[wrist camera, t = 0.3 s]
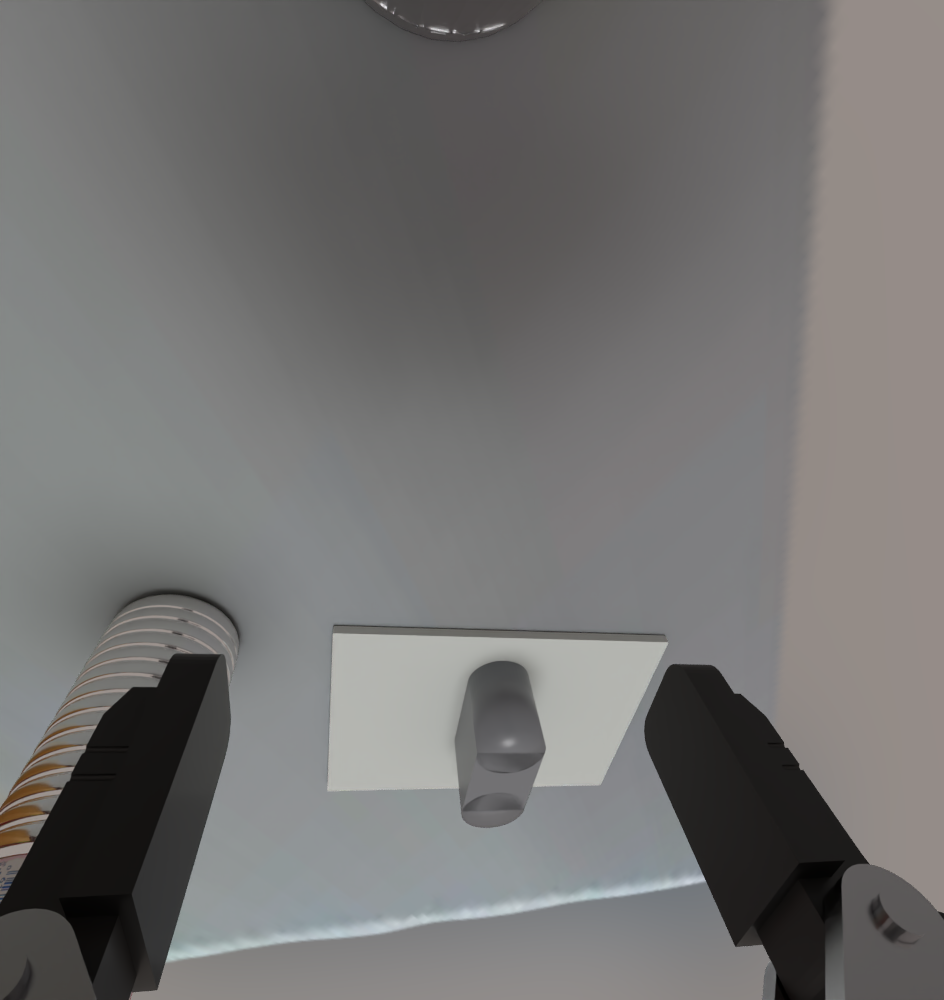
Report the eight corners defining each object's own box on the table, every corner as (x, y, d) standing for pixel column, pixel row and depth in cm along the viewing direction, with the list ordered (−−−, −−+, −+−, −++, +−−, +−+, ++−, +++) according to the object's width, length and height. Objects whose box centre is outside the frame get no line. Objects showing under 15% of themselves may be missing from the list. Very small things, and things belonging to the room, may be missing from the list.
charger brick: (472, 659, 35) (482, 731, 31) (534, 661, 35) (553, 731, 31) (447, 773, 41) (453, 844, 37) (500, 772, 42) (511, 842, 38)
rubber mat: (333, 625, 33) (333, 633, 32) (664, 635, 36) (668, 642, 36) (328, 783, 41) (327, 791, 41) (598, 777, 45) (600, 785, 44)
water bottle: (226, 684, 34) (-37, 1528, 14) (103, 658, 32) (-440, 1623, 11) (257, 607, 31) (-17, 1540, 11) (124, 573, 29) (-563, 1675, 8)
